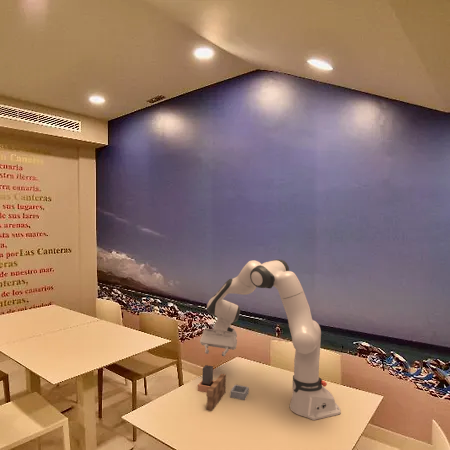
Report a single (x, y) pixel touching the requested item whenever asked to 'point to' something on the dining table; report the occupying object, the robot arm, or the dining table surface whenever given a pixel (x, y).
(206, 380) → the bar
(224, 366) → the dining table surface
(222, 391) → the door panel
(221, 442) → the dining table surface
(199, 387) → the frame
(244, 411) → the dining table surface
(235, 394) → the frame
